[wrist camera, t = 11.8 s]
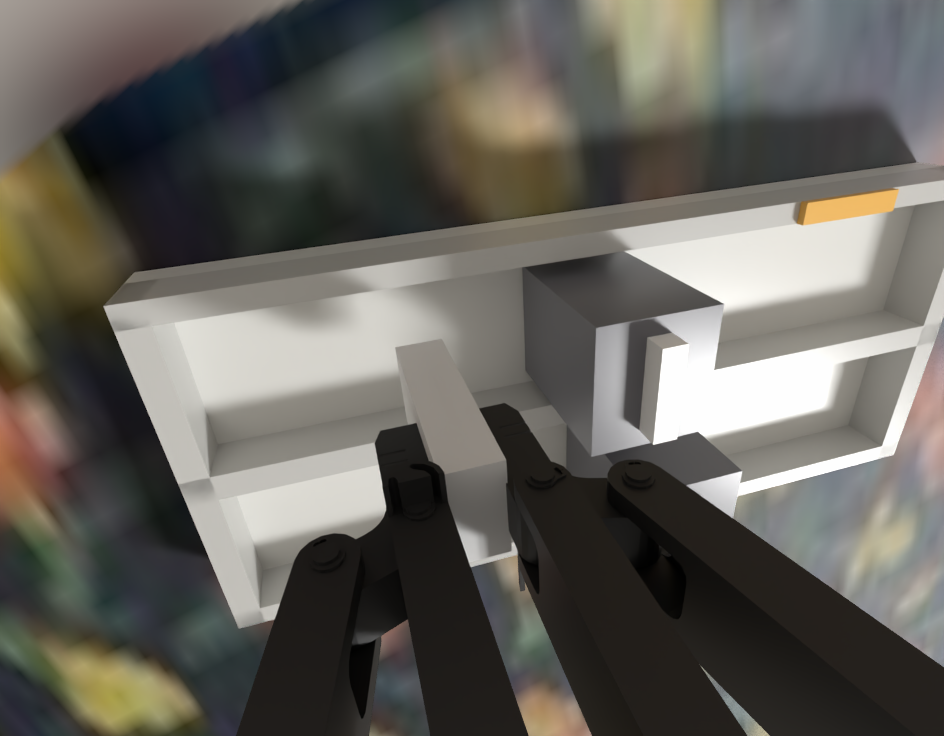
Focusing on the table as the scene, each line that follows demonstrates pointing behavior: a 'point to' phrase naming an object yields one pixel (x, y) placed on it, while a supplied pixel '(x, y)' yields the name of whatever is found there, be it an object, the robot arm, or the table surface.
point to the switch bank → (503, 348)
